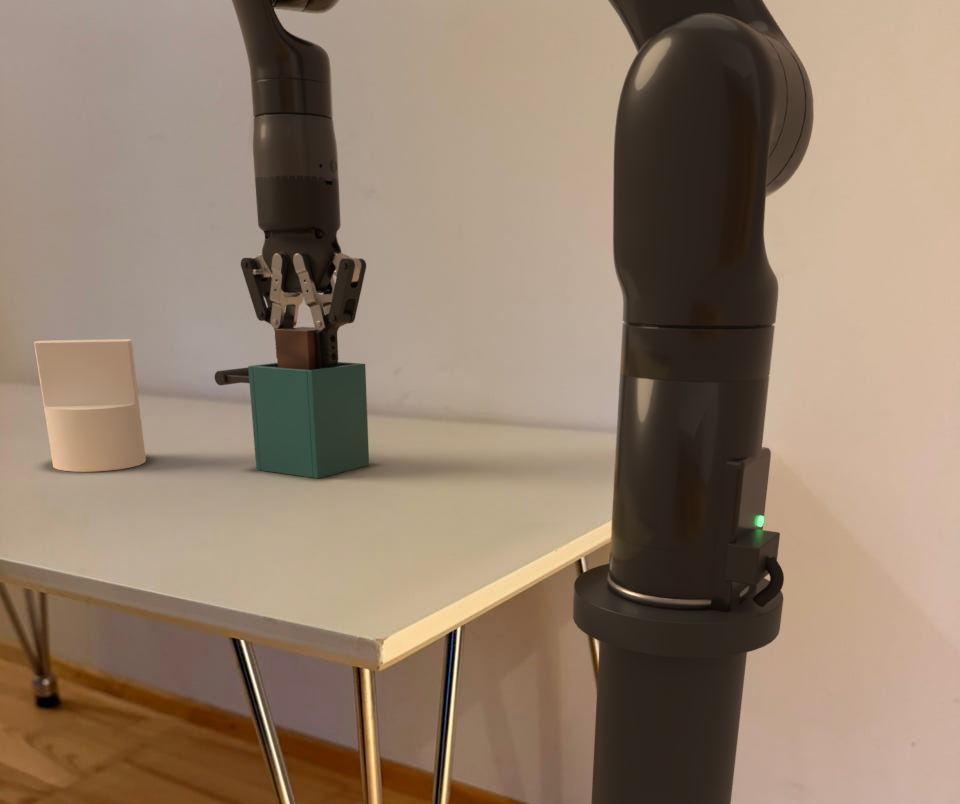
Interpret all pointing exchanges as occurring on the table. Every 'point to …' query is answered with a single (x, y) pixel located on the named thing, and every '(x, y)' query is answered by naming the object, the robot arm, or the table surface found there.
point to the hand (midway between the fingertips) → (307, 369)
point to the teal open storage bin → (306, 417)
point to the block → (296, 348)
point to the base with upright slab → (91, 404)
